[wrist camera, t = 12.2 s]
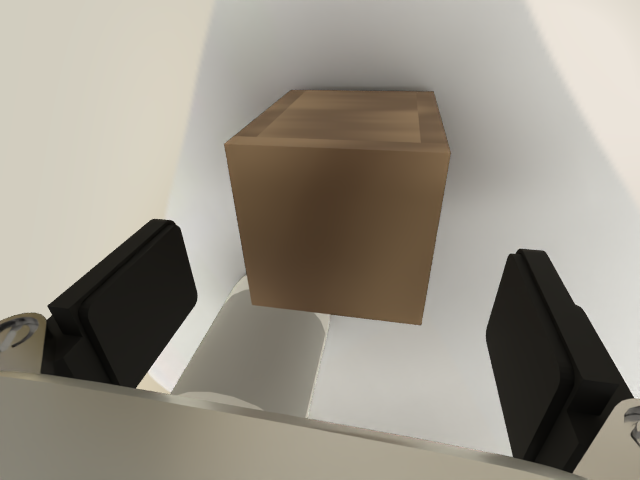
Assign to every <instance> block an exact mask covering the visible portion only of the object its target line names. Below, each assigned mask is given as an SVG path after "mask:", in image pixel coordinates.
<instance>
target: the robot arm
mask: <svg viewBox="0 0 640 480" xmlns="http://www.w3.org/2000/svg"><path fill="white" fill-rule="evenodd" d="M197 296H198V295H197V290H196V286H195V283H194V279H193V275H192V271H191V267H190V263H189V260H188V256H187V252H186V248H185V244H184V240H183V237H182V233H181V229H180V227H179V226H177V225H176V224H175V223H174V221H172V220H162V219H152V220H150V221H149V222H148V223H147V224H145V225H144V226H143V227H142V228H141V229H139V230H138V231H137V232H136V233H135V234H133V235H132V236H131V237H130V238H129V239H127V240H126V241H125V242H124V243H123V244H121V245H120V246H119V247H118V248H116V249H115V250H114V251H113V252H112V253H110V254H109V255H108V256H107V257H106V258H105V259H103V260H102V261H101V262H100V263H98V264H97V265H96V266H95V267H94V268H92V269H91V270H90V271H89V272H88V273H86V274H85V275H84V276H83V277H82V278H80V279H79V280H78V281H77V282H75V283H74V284H73V285H72V286H71V287H70V288H68V289H67V290H66V291H65V292H63V293H62V294H61V295H60V296H59V297H57V298H56V299H55V300H54V301H53V302H51V303H50V304H49V305H48V308H49V310H50V312H51V313H52V316H51V317H50V318H49V319H47V320H46V318H45V317H44V316H43V315H41V314H38V313H22V314H18V315H14V316H11V317H8V318H6V319H3V320H1V321H0V480H640V399H635V398H634V397H633V395H632V393H631V392H630V390H629V388H628V386H627V385H626V383H625V381H624V379H623V378H622V376H621V374H620V372H619V371H618V369H617V367H616V366H615V364H614V362H613V360H612V359H611V357H610V355H609V353H608V352H607V350H606V348H605V346H604V345H603V343H602V341H601V340H600V338H599V336H598V334H597V333H596V331H595V329H594V327H593V326H592V324H591V322H590V320H589V319H588V317H587V315H586V314H585V312H584V311H583V309H582V308H581V307H579V306H577V305H575V304H574V302H573V300H572V298H571V296H570V295H569V293H568V291H567V289H566V287H565V286H564V284H563V282H562V280H561V279H560V277H559V275H558V273H557V271H556V270H555V268H554V266H553V264H552V262H551V261H550V259H549V257H548V255H547V254H546V252H545V251H541V250H529V249H519V250H518V251H517V252H516V254H509V256H508V258H507V261H506V265H505V268H504V271H503V275H502V278H501V282H500V285H499V288H498V292H497V295H496V298H495V302H494V305H493V309H492V312H491V315H490V319H489V322H488V325H487V329H486V342H487V347H488V351H489V355H490V360H491V364H492V368H493V373H494V377H495V381H496V385H497V390H498V394H499V398H500V403H501V407H502V411H503V415H504V420H505V424H506V428H507V433H508V437H509V441H510V446H511V450H512V454H513V457H509V456H505V455H500V454H495V453H489V452H484V451H479V450H474V449H469V448H464V447H459V446H454V445H449V444H444V443H439V442H434V441H429V440H424V439H418V438H413V437H407V436H402V435H396V434H391V433H385V432H380V431H374V430H368V429H363V428H357V427H352V426H346V425H341V424H335V423H330V422H324V421H319V420H313V419H308V418H302V417H296V416H291V415H285V414H279V413H274V412H268V411H262V410H257V409H251V408H245V407H240V406H234V405H228V404H222V403H217V402H211V401H205V400H200V399H194V398H188V397H182V396H176V395H170V394H164V393H158V392H153V391H146V390H141V389H136V387H137V385H138V384H139V383H140V382H141V380H142V379H143V377H144V376H145V375H146V373H147V372H148V371H149V369H150V368H151V366H152V365H153V364H154V362H155V361H156V359H157V358H158V356H159V355H160V354H161V352H162V351H163V349H164V348H165V347H166V345H167V344H168V342H169V341H170V340H171V338H172V337H173V335H174V334H175V333H176V331H177V330H178V328H179V327H180V326H181V324H182V323H183V321H184V320H185V319H186V317H187V316H188V314H189V313H190V312H191V310H192V309H193V307H194V306H195V304H196V302H197Z"/></svg>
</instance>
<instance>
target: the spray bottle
mask: <svg viewBox="0 0 640 480" xmlns="http://www.w3.org/2000/svg"><path fill="white" fill-rule="evenodd" d="M329 325H330V314H322V313H314V312H305V311H297V310H289V309H280V308H272V307H264V306H255V305H252V303H251V297H250V291H249V285H248V279H247V275H246V276H244V277H242V278H241V280H240V281H239V282H238V283H237V284H236V285H235V286H234V288H233V290H232V291H231V293H230V295H229V296H228V298H227V300H226V301H225V303H224V305H223V306H222V308H221V310H220V311H219V313H218V315H217V316H216V318H215V320H214V321H213V323H212V325H211V327H210V328H209V330H208V332H207V333H206V335H205V337H204V338H203V340H202V342H201V343H200V345H199V347H198V348H197V350H196V352H195V353H194V355H193V357H192V358H191V360H190V362H189V364H188V365H187V367H186V369H185V370H184V372H183V374H182V375H181V377H180V379H179V380H178V382H177V384H176V385H175V387H174V389H173V390H172V392H171V394H170V395H176V396H182V397H188V398H194V399H200V400H205V401H211V402H217V403H222V404H228V405H234V406H240V407H245V408H251V409H257V410H262V411H268V412H274V413H279V414H285V415H291V416H296V417H302V418H308V415H309V410H310V406H311V402H312V398H313V393H314V389H315V385H316V381H317V376H318V372H319V368H320V364H321V359H322V355H323V351H324V347H325V342H326V338H327V334H328V330H329Z"/></svg>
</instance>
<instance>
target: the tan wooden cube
mask: <svg viewBox="0 0 640 480" xmlns="http://www.w3.org/2000/svg"><path fill="white" fill-rule="evenodd" d="M224 146H225V152H226V158H227V164H228V169H229V175H230V181H231V187H232V193H233V198H234V204H235V210H236V216H237V221H238V227H239V233H240V239H241V245H242V250H243V256H244V262H245V268H246V274H247V279H248V285H249V291H250V297H251V303H252V305H255V306H264V307H272V308H280V309H289V310H297V311H305V312H314V313H322V314H331V315H339V316H347V317H356V318H364V319H372V320H381V321H389V322H397V323H406V324H414V325H421V324H422V318H423V312H424V306H425V300H426V295H427V289H428V283H429V277H430V271H431V265H432V260H433V254H434V248H435V242H436V236H437V230H438V225H439V219H440V213H441V207H442V201H443V195H444V189H445V184H446V178H447V172H448V166H449V160H450V154H451V152H450V148H449V145H448V141H447V138H446V134H445V130H444V127H443V123H442V120H441V116H440V113H439V109H438V105H437V102H436V98H435V95H434V92H433V91H345V90H290V91H289V92H288V93H287V94H285V95H284V96H283V97H282V98H280V99H279V100H278V101H277V102H275V103H274V104H273V105H272V106H271V107H269V108H268V109H267V110H266V111H264V112H263V113H262V114H261V115H259V116H258V117H257V118H256V119H254V120H253V121H252V122H251V123H249V124H248V125H247V126H246V127H245V128H243V129H242V130H241V131H240V132H238V133H237V134H236V135H235V136H233V137H232V138H231V139H230V140H228V141H227V142H226V143H225V144H224Z"/></svg>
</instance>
